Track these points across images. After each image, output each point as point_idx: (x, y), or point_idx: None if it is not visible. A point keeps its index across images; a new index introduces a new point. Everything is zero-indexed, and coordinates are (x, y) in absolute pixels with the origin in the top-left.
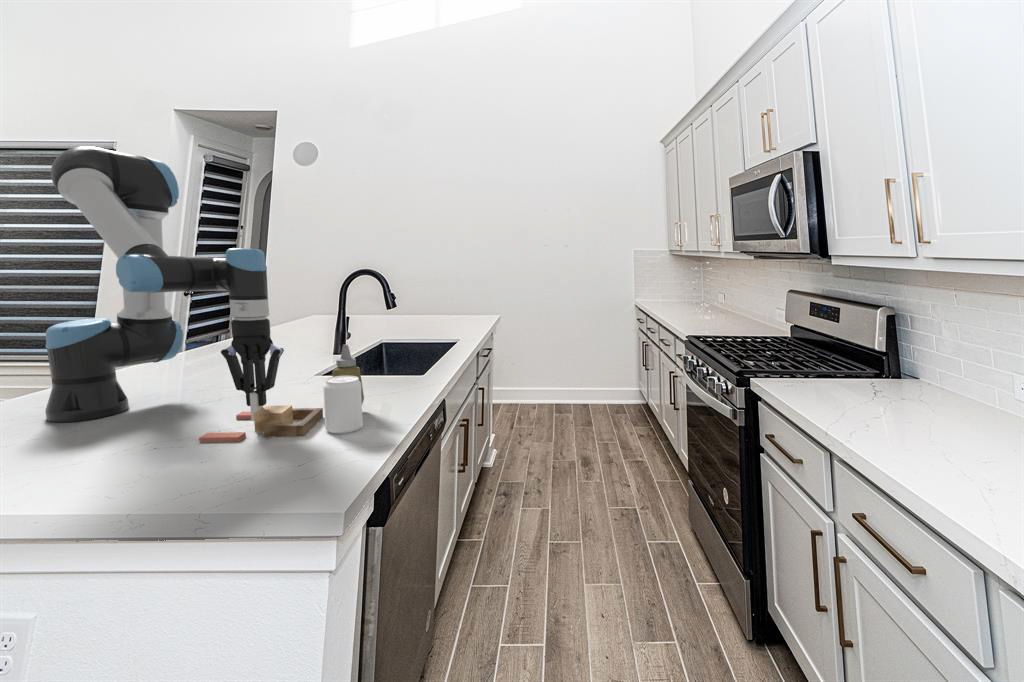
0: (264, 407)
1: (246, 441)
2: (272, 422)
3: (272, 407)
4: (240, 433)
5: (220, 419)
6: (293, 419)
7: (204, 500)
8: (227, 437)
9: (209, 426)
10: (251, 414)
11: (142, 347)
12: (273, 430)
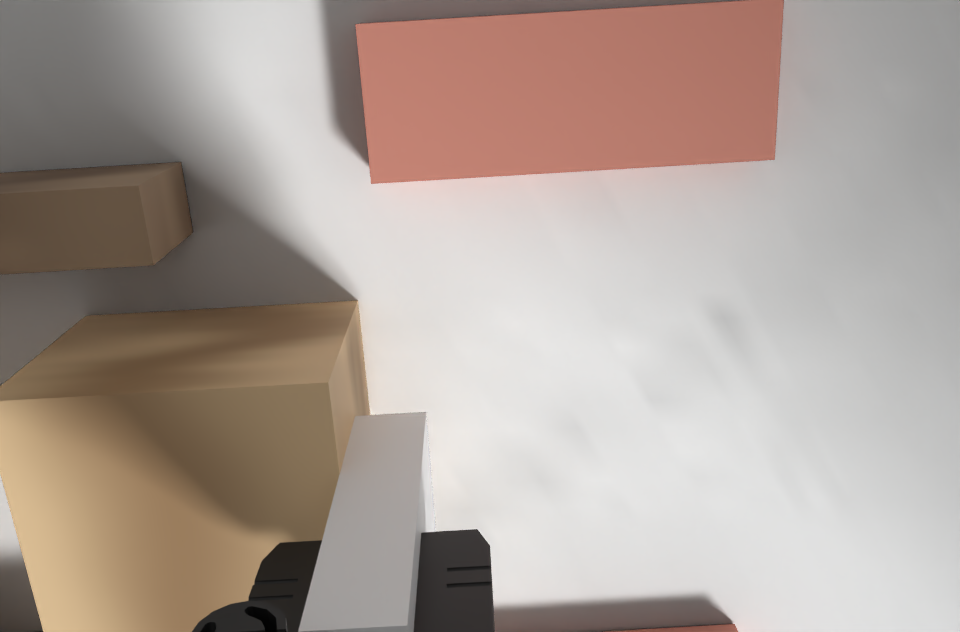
0: None
1: (286, 34)
2: (142, 347)
3: None
4: (402, 142)
5: (881, 619)
6: None
7: None
8: (475, 18)
9: (892, 443)
10: (420, 449)
11: None
12: (45, 182)
